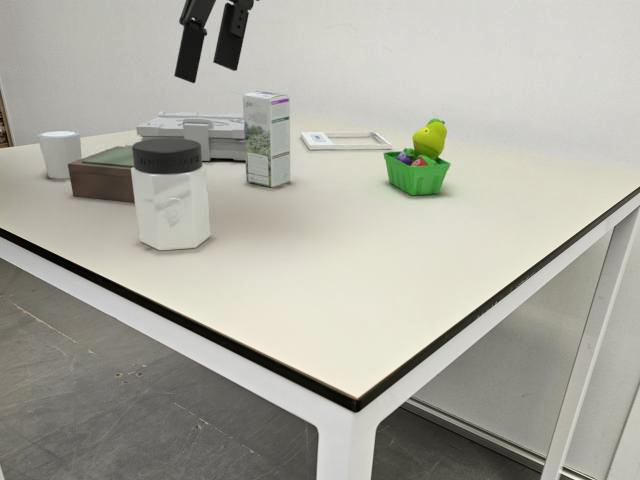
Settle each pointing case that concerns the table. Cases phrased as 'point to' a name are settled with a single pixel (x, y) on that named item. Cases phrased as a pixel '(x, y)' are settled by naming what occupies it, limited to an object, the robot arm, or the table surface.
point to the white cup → (59, 151)
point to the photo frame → (323, 142)
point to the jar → (170, 193)
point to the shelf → (104, 175)
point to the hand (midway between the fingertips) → (203, 73)
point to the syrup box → (267, 138)
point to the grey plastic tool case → (200, 132)
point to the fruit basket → (420, 161)
